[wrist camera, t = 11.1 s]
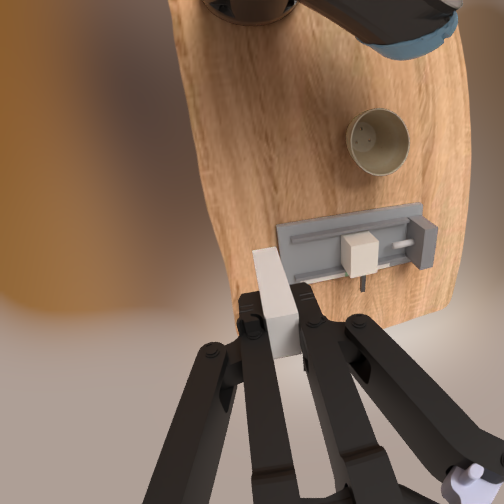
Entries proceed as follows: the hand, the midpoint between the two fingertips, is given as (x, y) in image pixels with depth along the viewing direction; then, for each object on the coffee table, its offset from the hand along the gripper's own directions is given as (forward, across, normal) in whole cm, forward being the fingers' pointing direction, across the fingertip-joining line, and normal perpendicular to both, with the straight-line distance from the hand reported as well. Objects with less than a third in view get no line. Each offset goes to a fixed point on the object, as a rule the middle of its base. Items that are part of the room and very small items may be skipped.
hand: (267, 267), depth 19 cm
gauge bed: (+29, +18, -16) cm, 38 cm away
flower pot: (+30, +20, +3) cm, 36 cm away
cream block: (+28, +17, -18) cm, 37 cm away
